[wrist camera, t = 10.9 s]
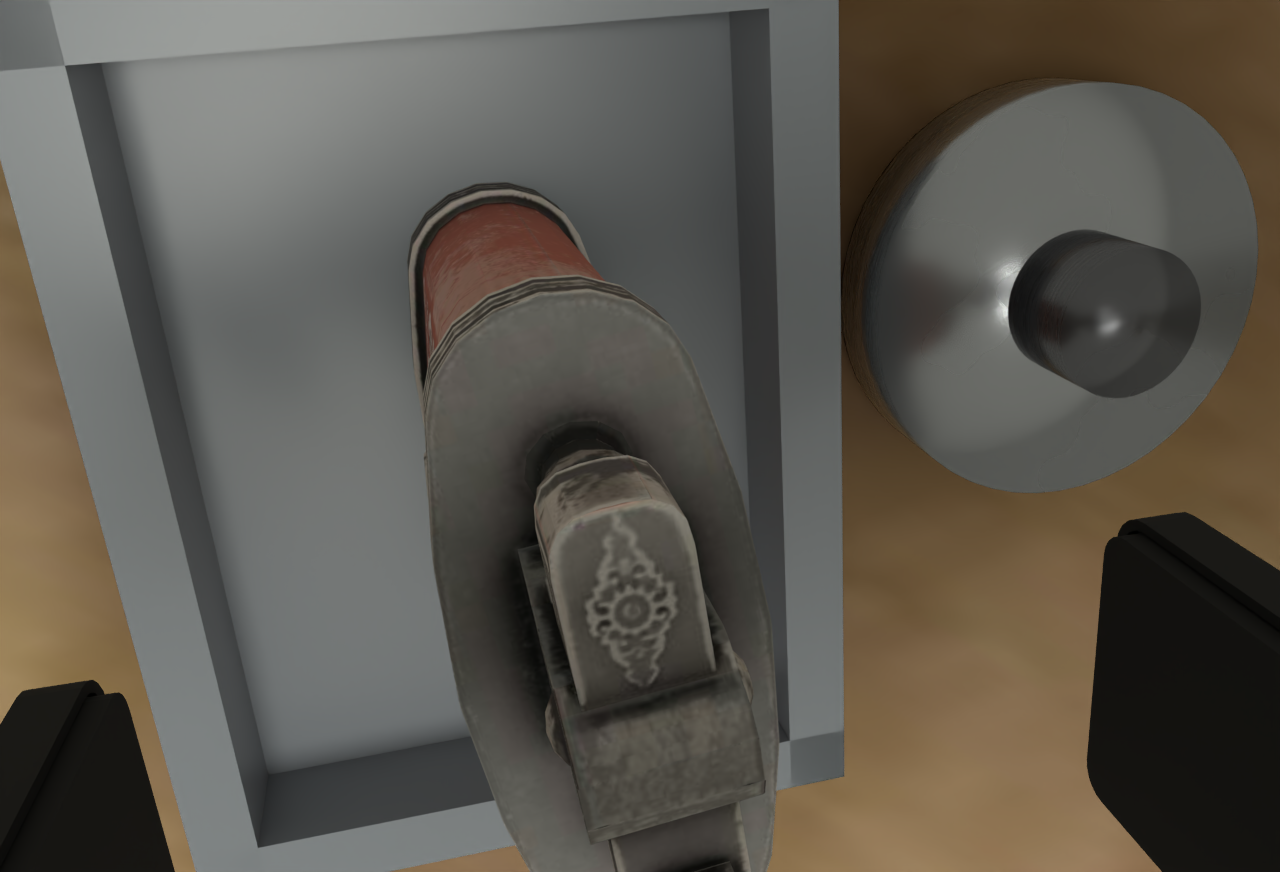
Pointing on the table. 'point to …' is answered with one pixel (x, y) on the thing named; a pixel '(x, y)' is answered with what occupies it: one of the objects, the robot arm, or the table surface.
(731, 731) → the lighter
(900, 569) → the table surface
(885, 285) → the pot lid
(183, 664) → the tray
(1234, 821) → the robot arm
